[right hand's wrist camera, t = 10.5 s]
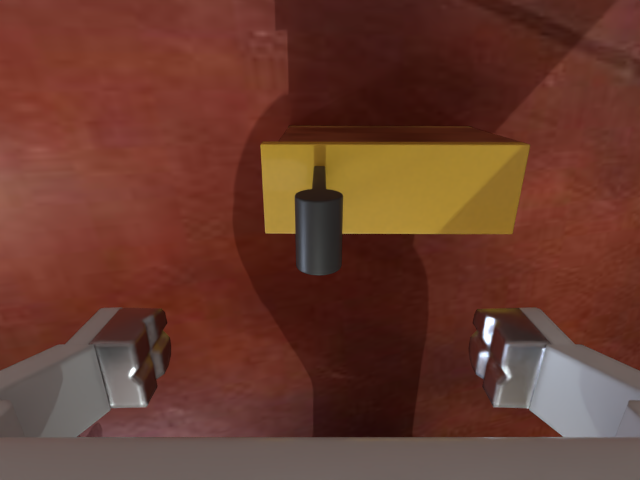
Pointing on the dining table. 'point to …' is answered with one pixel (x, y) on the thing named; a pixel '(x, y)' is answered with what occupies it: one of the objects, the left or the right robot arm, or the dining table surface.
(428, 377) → the dining table surface
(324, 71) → the dining table surface
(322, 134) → the chest
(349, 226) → the lid
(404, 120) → the dining table surface
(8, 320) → the dining table surface
